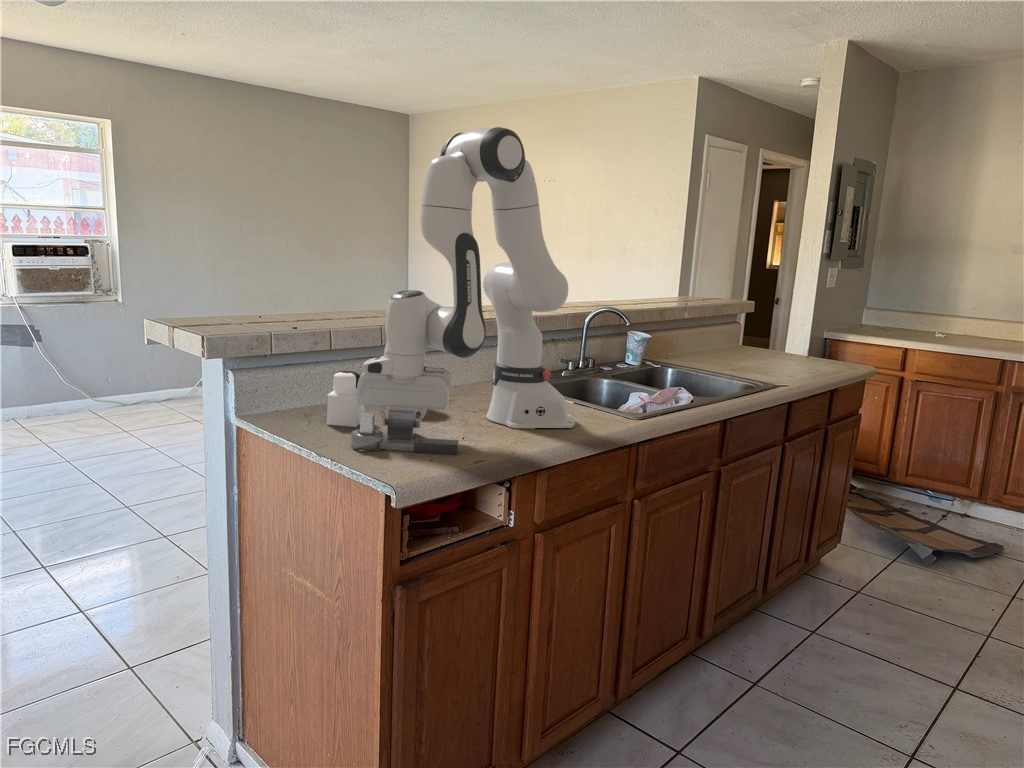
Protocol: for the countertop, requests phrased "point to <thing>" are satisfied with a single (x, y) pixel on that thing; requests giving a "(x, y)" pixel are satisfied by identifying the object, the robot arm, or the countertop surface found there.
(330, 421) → the medicine bottle
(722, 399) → the countertop surface
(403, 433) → the grey metal cube
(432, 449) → the ratchet
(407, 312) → the robot arm
